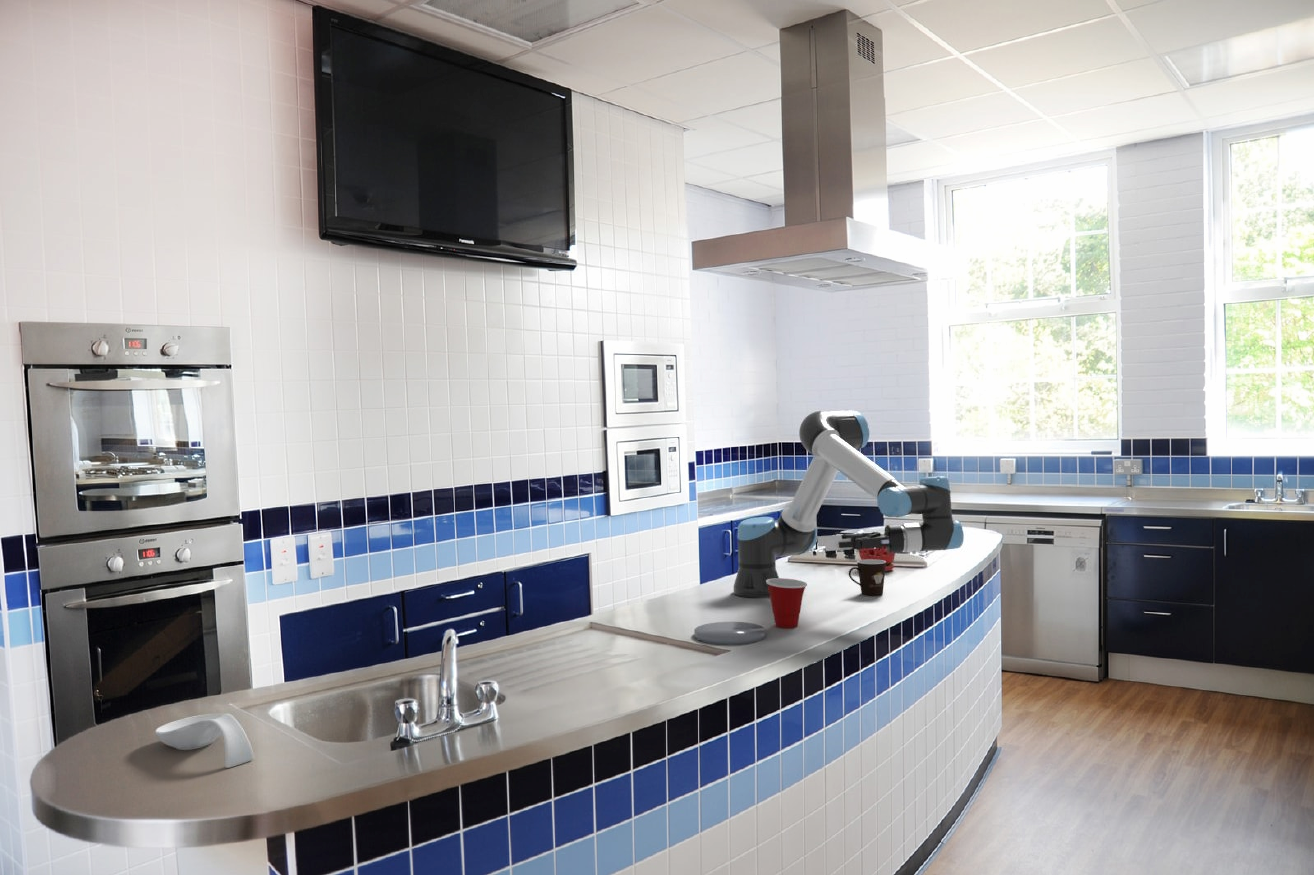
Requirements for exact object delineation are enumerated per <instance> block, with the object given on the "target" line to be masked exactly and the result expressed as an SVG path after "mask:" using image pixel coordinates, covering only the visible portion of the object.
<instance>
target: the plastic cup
mask: <svg viewBox="0 0 1314 875" xmlns="http://www.w3.org/2000/svg"><path fill="white" fill-rule="evenodd" d="M766 583H767V584H768V589H769V593H770V597H769V598H770V603H771V608H772V614H773V619H774V623H775V626H776V627H777V628H781V629H794V628H797V627H798V625H799V621H800V620H799V619H800V615H801V609H802V604H803V603H802V602H803V597H804V592H805V590H806V587H807V586H808V583H807V582H806V581H803V580H798V579H793V578H785V577H784V578H782V577H781V578H780V577H779V578H773V579H768V580H766Z"/></svg>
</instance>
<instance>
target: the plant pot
mask: <svg viewBox="0 0 1314 875" xmlns="http://www.w3.org/2000/svg"><path fill="white" fill-rule="evenodd" d="M858 555H859V558H860V560H867V559H874V560H883V561H886V566H885V572H888V571H892V570H893V569H894V568H895V564H894V563H893V561H894V559H895V556H896V553H889V552H888V551H887V549H886V546H885V547H882V548H867V549H859V550H858Z"/></svg>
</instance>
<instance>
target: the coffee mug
mask: <svg viewBox="0 0 1314 875" xmlns="http://www.w3.org/2000/svg"><path fill="white" fill-rule="evenodd" d="M856 564H857V567H856V566H854V567H851V568H850V569H849V570H848V577H849V579H851V581H853V583H855V584H856V585H858V586H860V594H861V595H862V594H863V595H862V596H865V595H867V596H866V597H878V596H879V597H880V596H883V595H884V584H885V575H886V571H885V566H886V561H883V560H874V559H867V560H861V559H859V560H857V561H856ZM853 570H857V572H858V578H859V581H857V580H856V579H854V578H853V576H852V575H851V573H852V571H853ZM882 594H883V595H882Z"/></svg>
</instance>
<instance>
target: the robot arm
mask: <svg viewBox="0 0 1314 875" xmlns="http://www.w3.org/2000/svg"><path fill="white" fill-rule="evenodd" d="M799 426H800V427H799V431H798V432H799V433H798V436H799V440H800V442H801V444H802V446H803V448H804V449H805V450H806V451H807V452H808V453H809V454H810V455H811V456H813V457H812V460H811V461H810V464H809V465H808V468H807V470H806V472H805V474H804V476H803V479H802V481H801V483H800V484H799V487H798V488H797V490H796V493H795V495H794V497H793V499H792V502H791V503H790V506H788V507H785V508H784V509H782V511H781V513H780V514H779V517H778V519H777V520H775V519H774V518H773V517H772V516H771V517H770V516H759V517H751V518H747V519H744V520H742V521H741V522H740V523H739V524H738V526H737V534H736V538H737V553H738V554H737V558H738V559H737V560H738V562H737V563H738V570H737V573H736V576H735V580H734V582H733V595H735V594H736V595H735V596H739V597H743V598H770V593H769V589H768V584H767V583H766V580H768V579H773V578H780V576H779V574H778V571H777V566H776V565H777V564H776V560H777V558H782V557H789V556H790V557H791V556H792V557H793V556H801V555H802V554H806V553H809V551H811V550H812V549H813V548H814V547H815V545H816V543H817V547H825V551H826V552H830V551H845V550H846V551H847V550H857V551H859V549H867V548H874V549H875V548H882V547H885V546H886V549H887V551H888V552H889V553H895V554H898V553H900V554H901V553H903V552H904V553H911V554H913V555H916V554H917V552H932V551H934V552H935V551H946V550H947V551H948V550H955V549H959V548H961V547H962V546H963V543H964V538H965V536H964V535H965V534H964V531H963V525H962V523H961V522H960V521H959V520H957V519H953V512H952V501H951V500H952V499H951V498H952V497H951V496H952V495H951V493H952V492H951V487H950V481H949V478H948V477H947V476H941V475H940V476H926V477H921V478H920V479H919V484H917V485H909V486H908V485H905V484H904V483H902V481H901V482H900V481H899V480H898V479H896V478H895V477H893V476H892V475H891V474H890V473H888V472H887V471H886V470H884V469H883V468H881V467H880V466H879V465H877V464H876V463H875V462H873V461H872V460H870V459H869V458H868V457H866V455H864V454H863V453H862V452H861V451H859V450H861V449H863V448H865V447H866V446H867V443H868V442H869V439H870V428H869V423H868V421H867V419H866V418H865V416H864V415H863V414H862V413H860V412H859V411H856V410H849V409H844V410H829V411H827V410H826V411H825V410H818V411H814V412H812V413H810V414H808V415H807V416H805V417H804V418H803V421H802V422H801V424H800V425H799ZM838 473H841V474H842V475H843V476H845V477H846V478H847V479H849V480H850V481H851V482H853V483H854V484H855V485H856V486H858V487H859V488H861V490H863V491H864V492H866V493H867V494H868V495H870V497H872V498H873V499H875V500H876V502H877V503H876V505H877V507H878V509H879V510H880V513H881V514H882V515H883V516H885V517H887V518H903V517H908V516H916V515H917V516H918V515H921V516H922V522H908V523H902V524H901V525H900V524H897V523H896V524H895V523H894V524H886V525H885V527H884V533H883V534H881V532H878V531H872V532H864V533H847V534H846V533H843V534H833V535H821V536H818V535H817V533H818V528H817V522H816V520H815V518H816V516H817V515H818V513H819V511H820V508H821V506H822V505H823V502H824V501H825V498H826V496H827V495H828V492H829V491H830V489H831V486H832V485H833V482H834V480H835V479H836V478H837V477H836V476H837V475H838Z"/></svg>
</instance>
